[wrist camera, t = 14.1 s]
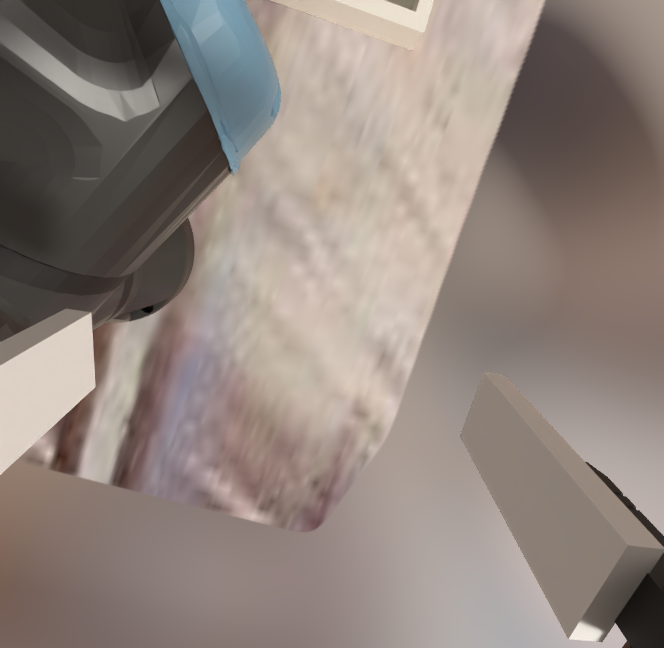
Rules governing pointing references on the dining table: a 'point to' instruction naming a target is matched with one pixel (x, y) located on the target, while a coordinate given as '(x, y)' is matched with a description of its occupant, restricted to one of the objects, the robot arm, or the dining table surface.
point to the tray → (373, 17)
